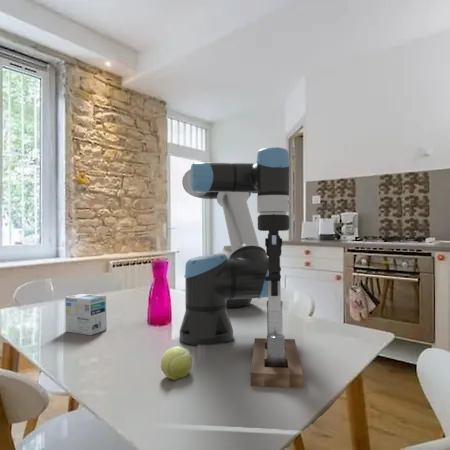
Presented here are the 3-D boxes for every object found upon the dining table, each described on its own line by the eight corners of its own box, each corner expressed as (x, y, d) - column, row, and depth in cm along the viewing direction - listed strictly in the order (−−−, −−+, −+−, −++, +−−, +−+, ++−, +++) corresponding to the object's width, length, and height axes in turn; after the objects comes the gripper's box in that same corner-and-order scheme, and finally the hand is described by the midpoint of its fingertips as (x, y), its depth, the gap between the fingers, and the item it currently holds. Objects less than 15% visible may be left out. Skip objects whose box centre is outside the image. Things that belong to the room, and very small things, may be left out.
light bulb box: (107, 330, 112) (107, 295, 112) (91, 336, 106) (90, 299, 106) (81, 326, 117) (81, 292, 117) (64, 332, 111) (64, 296, 111)
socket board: (250, 388, 71) (250, 372, 71) (254, 350, 92) (254, 338, 92) (303, 390, 69) (303, 374, 69) (294, 351, 91) (294, 339, 91)
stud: (267, 358, 85) (266, 303, 85) (267, 353, 88) (266, 299, 89) (283, 359, 84) (282, 303, 84) (282, 353, 88) (282, 300, 88)
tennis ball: (195, 347, 75) (181, 338, 81) (166, 358, 72) (153, 348, 77) (199, 376, 76) (185, 366, 81) (170, 389, 72) (157, 377, 78)
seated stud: (267, 378, 74) (266, 338, 74) (267, 371, 78) (267, 333, 78) (285, 378, 73) (284, 339, 74) (284, 372, 77) (284, 334, 77)
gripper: (292, 212, 74) (293, 317, 74) (286, 214, 99) (287, 292, 99) (255, 213, 75) (256, 316, 75) (258, 214, 99) (259, 292, 100)
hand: (273, 303), depth 87 cm, fingers open, 13 cm apart
